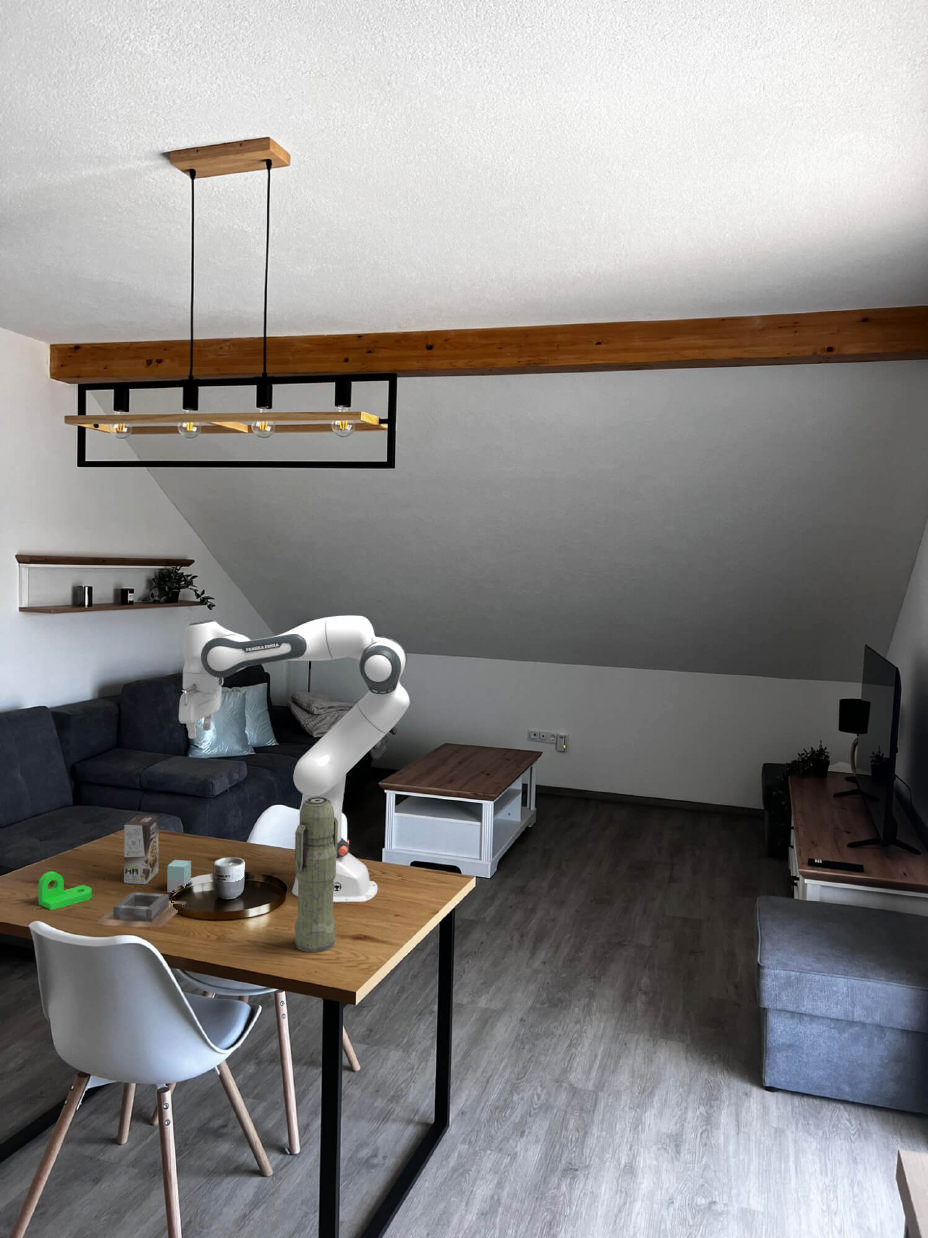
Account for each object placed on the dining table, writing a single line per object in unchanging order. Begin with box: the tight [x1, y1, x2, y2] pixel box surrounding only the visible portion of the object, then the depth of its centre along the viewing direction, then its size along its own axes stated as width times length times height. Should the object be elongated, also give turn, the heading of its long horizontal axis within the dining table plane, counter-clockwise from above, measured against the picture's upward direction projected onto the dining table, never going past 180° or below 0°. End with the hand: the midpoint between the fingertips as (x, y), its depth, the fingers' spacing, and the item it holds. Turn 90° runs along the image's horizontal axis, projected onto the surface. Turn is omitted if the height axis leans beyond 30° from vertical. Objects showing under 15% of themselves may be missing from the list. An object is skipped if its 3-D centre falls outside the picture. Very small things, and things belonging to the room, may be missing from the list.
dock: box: [93, 891, 187, 928], centre depth 221 cm, size 16×16×4 cm
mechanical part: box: [37, 870, 93, 911], centre depth 229 cm, size 12×6×8 cm, turn 142°
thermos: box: [294, 797, 338, 953], centre depth 204 cm, size 9×12×35 cm
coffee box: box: [123, 814, 159, 885], centre depth 245 cm, size 9×6×16 cm
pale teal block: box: [166, 859, 192, 893], centre depth 239 cm, size 4×4×7 cm
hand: (199, 734), depth 239 cm, fingers open, 8 cm apart
